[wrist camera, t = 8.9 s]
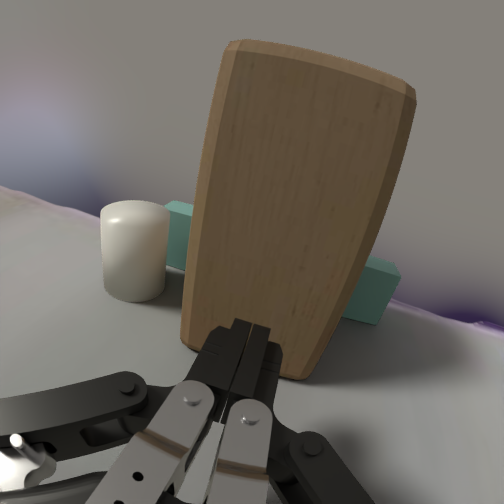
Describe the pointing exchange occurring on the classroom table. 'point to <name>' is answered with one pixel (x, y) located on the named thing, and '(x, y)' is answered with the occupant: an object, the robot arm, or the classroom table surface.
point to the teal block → (365, 293)
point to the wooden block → (290, 194)
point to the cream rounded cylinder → (134, 249)
